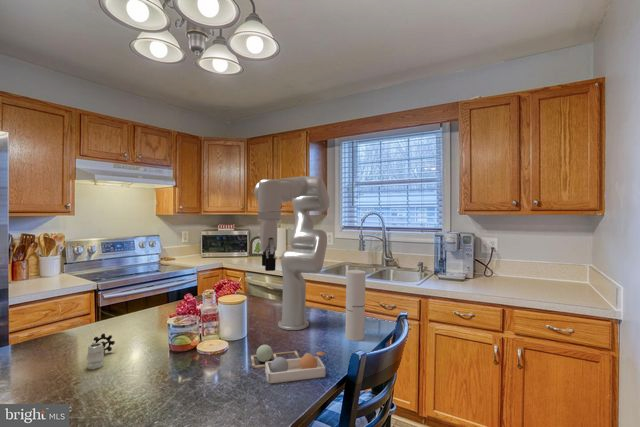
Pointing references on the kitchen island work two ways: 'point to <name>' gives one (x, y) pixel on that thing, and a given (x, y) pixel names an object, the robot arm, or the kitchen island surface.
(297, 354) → the tray
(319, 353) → the card
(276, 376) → the trough
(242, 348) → the kitchen island surface
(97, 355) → the valve
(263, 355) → the ball sage
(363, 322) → the cylindrical container
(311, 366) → the ball terracotta
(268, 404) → the kitchen island surface
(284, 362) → the ball slate
